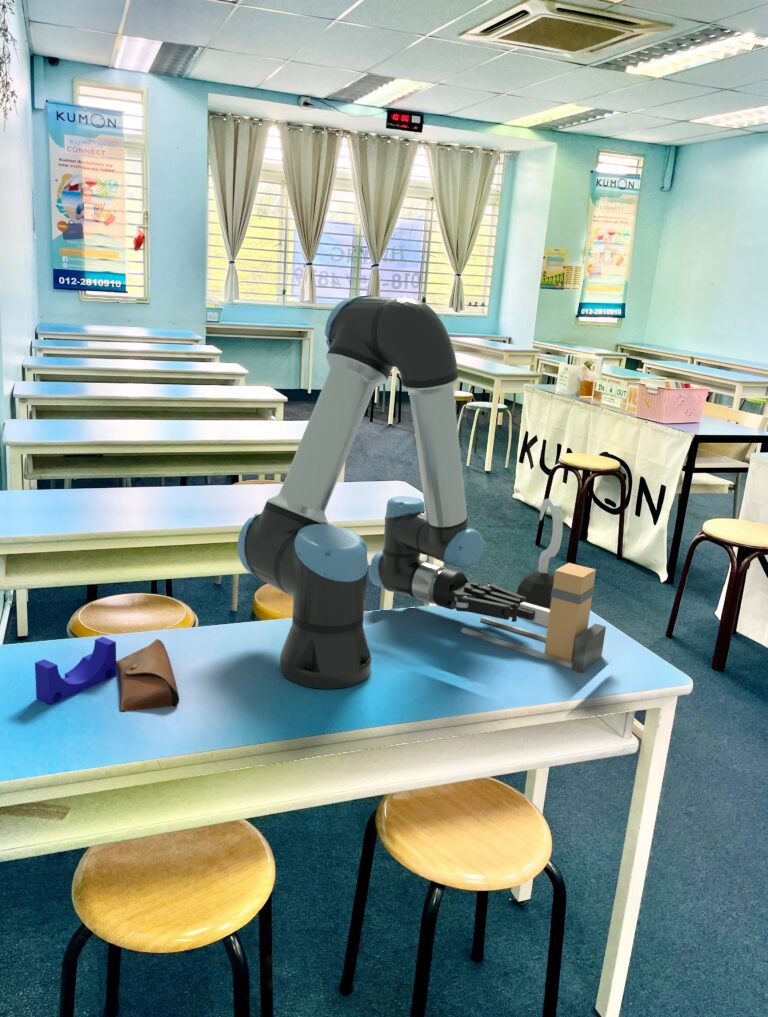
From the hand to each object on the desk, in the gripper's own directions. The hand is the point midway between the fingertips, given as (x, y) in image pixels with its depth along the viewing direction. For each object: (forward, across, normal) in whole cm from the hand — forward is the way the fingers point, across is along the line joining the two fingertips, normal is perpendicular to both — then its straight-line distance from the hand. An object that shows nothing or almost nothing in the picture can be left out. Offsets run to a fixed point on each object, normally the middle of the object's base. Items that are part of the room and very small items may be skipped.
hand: (553, 619), depth 138 cm
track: (-4, 0, -8) cm, 8 cm away
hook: (-10, -17, -8) cm, 21 cm away
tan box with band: (+3, 0, -6) cm, 7 cm away
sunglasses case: (-44, +54, -8) cm, 70 cm away
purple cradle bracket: (-51, +62, -8) cm, 80 cm away
